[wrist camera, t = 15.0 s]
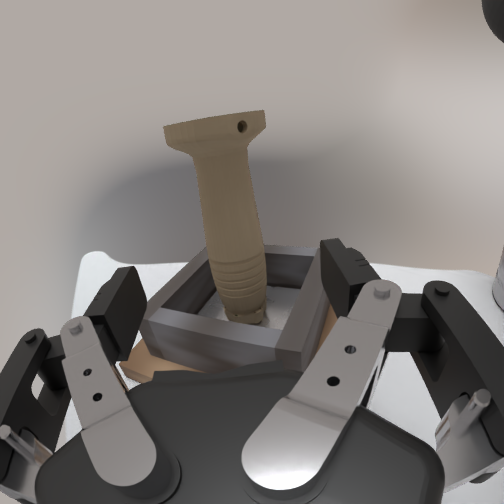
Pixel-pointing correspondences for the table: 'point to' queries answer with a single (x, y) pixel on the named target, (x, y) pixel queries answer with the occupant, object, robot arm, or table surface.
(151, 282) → the table surface
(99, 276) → the table surface
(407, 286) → the table surface
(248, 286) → the handle
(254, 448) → the robot arm
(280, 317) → the mottled stone tile
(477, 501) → the table surface
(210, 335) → the socket base
